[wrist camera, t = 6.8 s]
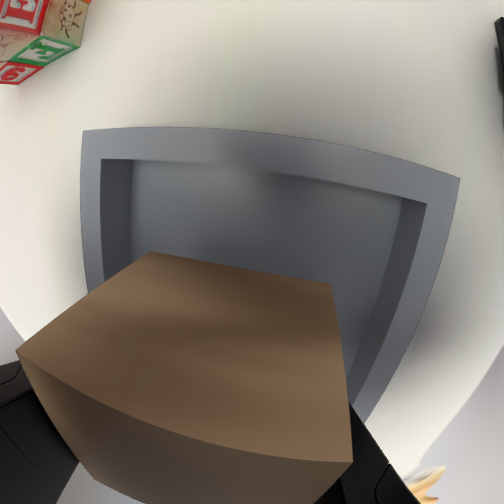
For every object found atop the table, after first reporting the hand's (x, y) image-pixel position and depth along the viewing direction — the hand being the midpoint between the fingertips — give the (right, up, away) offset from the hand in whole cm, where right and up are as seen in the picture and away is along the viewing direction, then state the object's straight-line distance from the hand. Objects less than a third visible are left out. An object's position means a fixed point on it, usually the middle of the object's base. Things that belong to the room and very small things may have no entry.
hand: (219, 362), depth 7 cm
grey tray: (+1, +1, +4) cm, 4 cm away
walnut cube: (0, 0, +1) cm, 1 cm away
